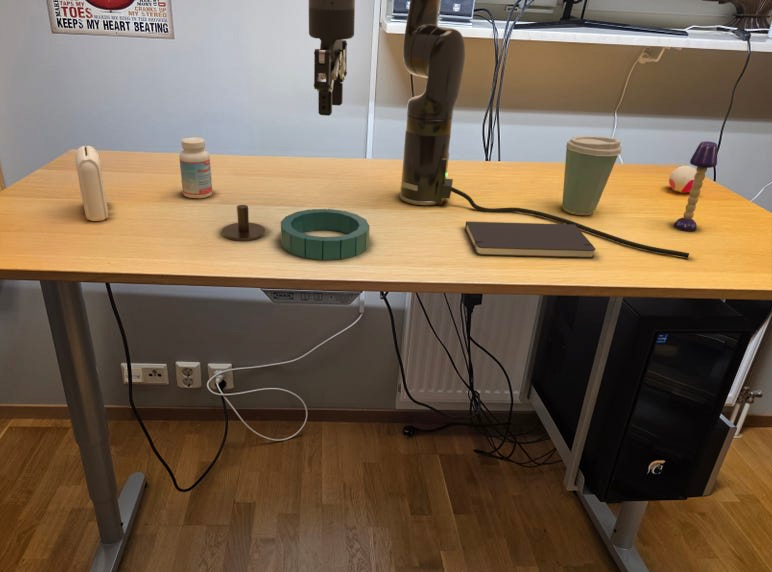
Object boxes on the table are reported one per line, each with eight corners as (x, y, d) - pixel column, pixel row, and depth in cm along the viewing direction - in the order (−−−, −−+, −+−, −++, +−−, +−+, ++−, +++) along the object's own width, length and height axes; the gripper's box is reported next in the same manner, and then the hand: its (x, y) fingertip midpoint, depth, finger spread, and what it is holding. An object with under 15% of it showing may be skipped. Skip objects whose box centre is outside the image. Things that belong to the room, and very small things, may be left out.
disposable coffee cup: (543, 209, 138) (558, 136, 130) (567, 198, 144) (583, 128, 136) (590, 223, 132) (609, 147, 124) (613, 211, 138) (632, 138, 130)
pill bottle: (206, 200, 135) (201, 145, 129) (178, 197, 136) (172, 142, 130) (217, 191, 140) (213, 137, 134) (190, 188, 141) (185, 135, 135)
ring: (374, 231, 124) (375, 213, 122) (358, 264, 111) (359, 245, 109) (295, 222, 126) (294, 205, 124) (270, 253, 113) (269, 234, 111)
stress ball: (676, 210, 150) (699, 191, 145) (654, 183, 152) (676, 163, 147) (692, 202, 154) (715, 184, 149) (671, 176, 156) (693, 157, 151)
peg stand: (271, 227, 123) (270, 201, 121) (257, 243, 117) (256, 216, 114) (231, 223, 125) (229, 197, 122) (215, 238, 118) (213, 211, 115)
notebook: (573, 231, 127) (464, 229, 126) (575, 224, 126) (465, 221, 126) (595, 258, 116) (476, 255, 116) (597, 250, 116) (477, 246, 115)
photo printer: (84, 204, 130) (72, 141, 124) (107, 203, 131) (96, 140, 125) (85, 222, 122) (73, 155, 115) (109, 220, 123) (98, 154, 117)
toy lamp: (684, 233, 129) (712, 147, 120) (665, 225, 132) (690, 140, 123) (700, 229, 131) (729, 144, 122) (681, 222, 134) (707, 138, 125)
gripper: (345, 9, 100) (343, 120, 108) (362, 2, 111) (359, 103, 120) (297, 7, 101) (299, 117, 109) (319, 0, 112) (319, 100, 121)
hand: (330, 109), depth 115 cm, fingers open, 8 cm apart
